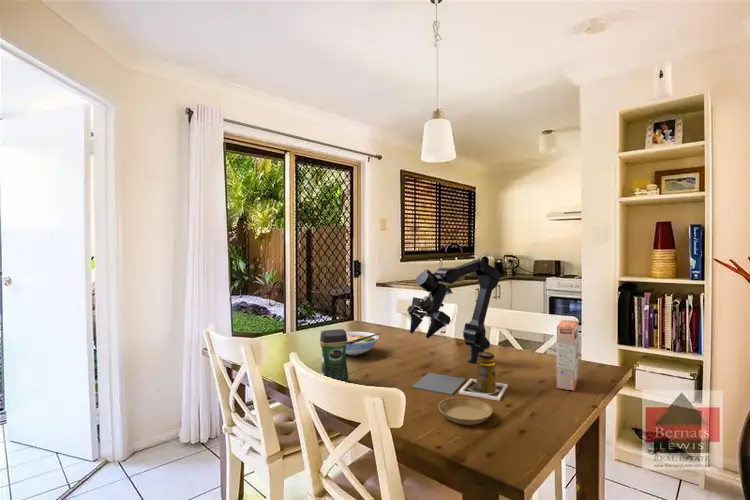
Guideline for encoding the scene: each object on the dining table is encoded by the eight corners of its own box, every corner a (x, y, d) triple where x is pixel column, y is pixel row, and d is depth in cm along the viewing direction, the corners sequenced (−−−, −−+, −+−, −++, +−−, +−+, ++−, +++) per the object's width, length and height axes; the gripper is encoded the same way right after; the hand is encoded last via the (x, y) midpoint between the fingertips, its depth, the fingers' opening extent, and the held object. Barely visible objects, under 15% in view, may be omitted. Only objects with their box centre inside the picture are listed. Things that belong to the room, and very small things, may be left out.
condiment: (501, 391, 127) (501, 354, 127) (483, 396, 122) (483, 358, 122) (483, 384, 133) (483, 349, 133) (466, 389, 129) (466, 353, 128)
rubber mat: (428, 373, 145) (428, 372, 145) (465, 379, 138) (465, 378, 138) (411, 387, 131) (411, 386, 131) (451, 395, 124) (451, 393, 124)
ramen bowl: (351, 344, 190) (351, 327, 190) (390, 351, 177) (390, 333, 177) (315, 355, 170) (315, 337, 170) (356, 364, 157) (356, 344, 157)
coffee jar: (345, 377, 142) (344, 326, 141) (350, 384, 134) (349, 331, 134) (318, 380, 139) (318, 328, 138) (322, 388, 131) (321, 333, 131)
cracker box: (576, 392, 125) (575, 327, 125) (555, 388, 128) (555, 325, 128) (579, 379, 137) (579, 320, 137) (560, 376, 140) (560, 319, 140)
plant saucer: (502, 425, 103) (502, 416, 103) (450, 431, 100) (450, 421, 100) (477, 403, 117) (476, 395, 117) (430, 408, 114) (430, 399, 114)
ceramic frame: (470, 380, 137) (470, 378, 137) (507, 386, 131) (507, 384, 131) (459, 393, 125) (459, 391, 125) (499, 400, 119) (499, 398, 119)
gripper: (406, 285, 151) (389, 321, 147) (439, 289, 135) (420, 330, 131) (425, 299, 156) (408, 334, 152) (458, 304, 141) (441, 344, 136)
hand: (418, 335), depth 143 cm, fingers open, 9 cm apart
